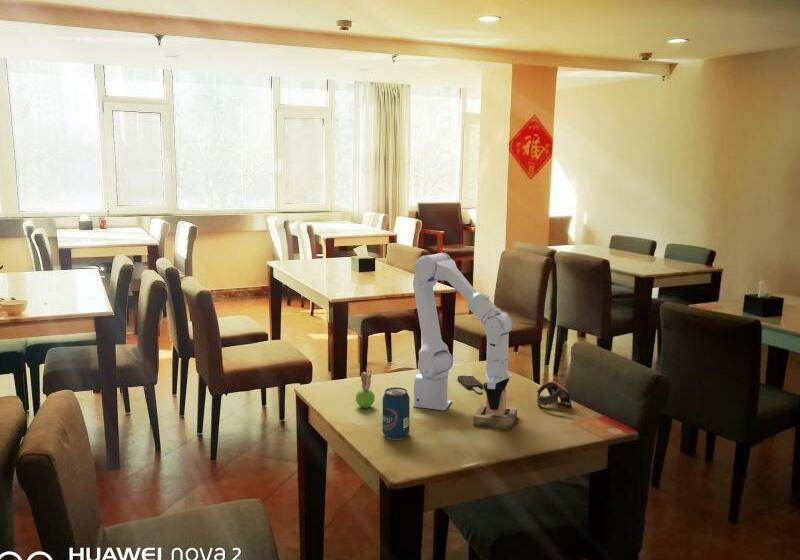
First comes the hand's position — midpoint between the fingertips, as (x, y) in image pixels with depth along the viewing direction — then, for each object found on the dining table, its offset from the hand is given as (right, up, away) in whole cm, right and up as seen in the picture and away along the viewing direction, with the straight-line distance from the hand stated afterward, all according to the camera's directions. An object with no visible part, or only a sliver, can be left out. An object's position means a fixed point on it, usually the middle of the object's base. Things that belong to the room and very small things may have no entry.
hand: (495, 406), depth 183 cm
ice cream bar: (-3, 0, +29) cm, 30 cm away
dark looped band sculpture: (+19, -2, +13) cm, 23 cm away
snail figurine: (-36, -3, +10) cm, 37 cm away
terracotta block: (0, -2, 0) cm, 2 cm away
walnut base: (0, -4, +1) cm, 4 cm away
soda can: (-27, -6, -10) cm, 29 cm away
